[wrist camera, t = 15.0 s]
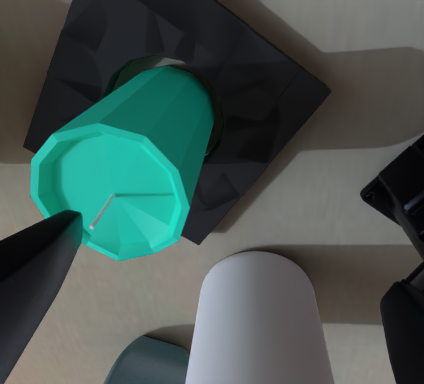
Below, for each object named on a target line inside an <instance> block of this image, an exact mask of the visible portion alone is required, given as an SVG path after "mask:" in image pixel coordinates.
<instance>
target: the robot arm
mask: <svg viewBox="0 0 424 384" xmlns="http://www.w3.org/2000/svg"><path fill="white" fill-rule="evenodd" d="M368 193H372V194H371V195H370V196H366V195H367V194H368ZM360 195H361V198H362V199H363V201H365V202H366V203H367V204H369V205H370V206H372V207H373V208H375V209H376V210H378V211H379V212H381V213H382V214H383V215H385V216H386V217H388V218H389V219H391V220H392V221H394V222H395V223H397V224H398V225H399V226H401V227H402V228H403V230H404V232H405V233H406V235H407V236H408V238H409V239H410V241H411V242H412V244H413V245H414V247H415V248H416V250H417V251H418V253H419V254H420V256H421V257H422V259H423V260H424V135H423V136H422V137H421V138H419V139H418V140H417V141H416V142H415V143H414V144H413V145H412V146H409V147H408V148H407V149H406V150H405V151H403V152H402V153H401V154H400V155H399V156H398V157H397V158H396V159H395V160H393V161H392V162H391V163H390V164H389V165H388V166H387V167H386V168H385V169H383V170H382V171H381V172H380V173H379V175H378V176H377V177H376V178H375V179H374V180H373V181H371V182H370V183H369V184H368V185H367V186H366V187H365V188H364V189H363V190H362V191H361V193H360ZM82 237H83V216H82V213H81V212H78V211H74V210H69V209H66V210H63V211H61V212H59V213H57V214H55V215H53V216H51V217H49V218H47V219H44V220H42V221H40V222H38V223H36V224H34V225H32V226H30V227H28V228H26V229H24V230H22V231H19V232H17V233H15V234H13V235H11V236H9V237H7V238H5V239H3V240H1V241H0V384H4V383H5V381H6V379H7V378H8V376H9V374H10V373H11V371H12V369H13V368H14V366H15V364H16V363H17V361H18V359H19V358H20V356H21V354H22V353H23V351H24V349H25V348H26V346H27V344H28V342H29V341H30V339H31V337H32V336H33V334H34V332H35V331H36V329H37V327H38V326H39V324H40V322H41V321H42V319H43V317H44V316H45V314H46V312H47V311H48V309H49V307H50V306H51V304H52V302H53V301H54V299H55V297H56V295H57V294H58V292H59V290H60V288H61V286H62V284H63V281H64V279H65V277H66V275H67V273H68V270H69V268H70V266H71V264H72V261H73V259H74V257H75V255H76V253H77V250H78V248H79V246H80V244H81V241H82ZM380 310H381V315H382V321H383V326H384V332H385V338H386V343H387V349H388V354H389V359H390V363H391V366H392V370H393V374H394V377H395V381H396V384H424V261H423V262H422V263H421V264H420V265H419V266H418V267H417V268H416V269H415V270H414V271H413V272H412V273H411V274H410V275H409V276H408V277H407V278H406V279H403V280H402V281H401V282H399V281H398V282H395V283H394V284H393V285H392V286H391V287H390V289H389V290H388V291H387V292H386V294H385V295H384V296H383V298H382V299H381V302H380Z"/></svg>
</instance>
